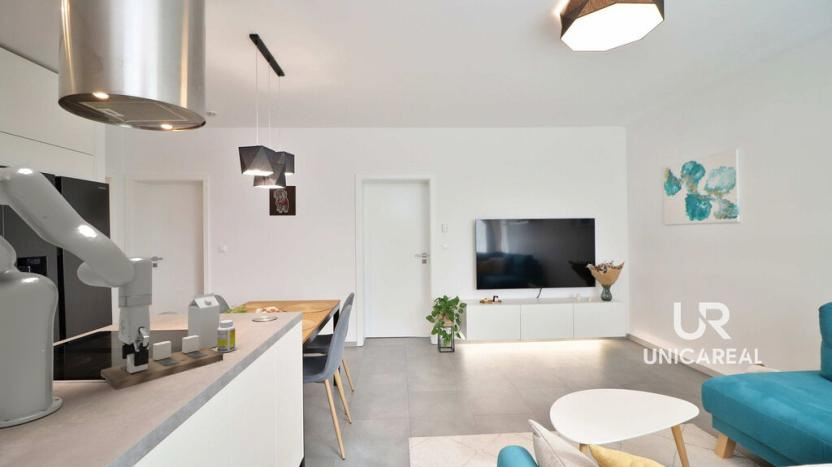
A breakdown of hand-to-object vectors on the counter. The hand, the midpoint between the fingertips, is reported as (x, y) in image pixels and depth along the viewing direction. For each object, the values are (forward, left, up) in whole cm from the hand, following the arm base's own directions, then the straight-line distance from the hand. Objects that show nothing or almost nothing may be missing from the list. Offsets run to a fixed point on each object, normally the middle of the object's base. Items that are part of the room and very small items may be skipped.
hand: (135, 361), depth 100 cm
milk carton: (+24, +13, -5) cm, 28 cm away
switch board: (+8, +1, -4) cm, 9 cm away
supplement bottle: (+27, +3, -5) cm, 28 cm away
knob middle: (+8, +4, -2) cm, 9 cm away
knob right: (+16, +4, -2) cm, 17 cm away
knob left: (0, -2, -2) cm, 3 cm away
